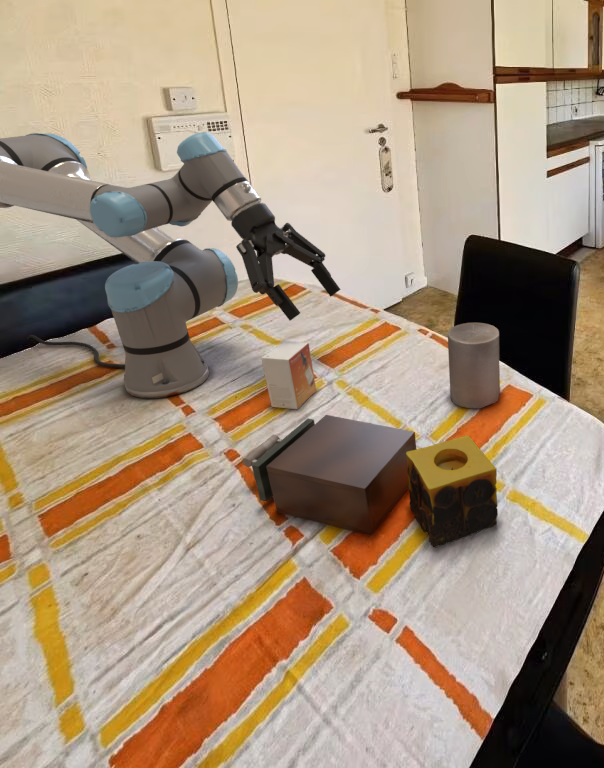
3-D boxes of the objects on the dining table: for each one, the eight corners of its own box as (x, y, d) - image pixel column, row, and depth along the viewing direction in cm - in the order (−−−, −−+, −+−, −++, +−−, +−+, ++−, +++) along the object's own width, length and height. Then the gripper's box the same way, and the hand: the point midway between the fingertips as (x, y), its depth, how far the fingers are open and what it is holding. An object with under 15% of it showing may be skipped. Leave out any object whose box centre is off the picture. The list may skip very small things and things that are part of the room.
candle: (432, 550, 84) (427, 491, 80) (407, 507, 92) (402, 451, 88) (499, 526, 89) (499, 469, 84) (470, 487, 96) (468, 433, 92)
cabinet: (276, 512, 91) (266, 466, 87) (333, 457, 104) (326, 414, 100) (371, 536, 87) (364, 488, 83) (418, 475, 99) (415, 431, 95)
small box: (297, 410, 117) (288, 360, 112) (270, 407, 118) (259, 357, 113) (317, 390, 124) (309, 342, 119) (291, 387, 125) (282, 339, 120)
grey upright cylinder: (456, 383, 126) (452, 314, 119) (503, 386, 125) (503, 317, 118) (445, 407, 118) (441, 334, 111) (496, 411, 117) (495, 337, 110)
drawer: (232, 493, 94) (222, 458, 91) (288, 445, 105) (281, 413, 102) (345, 521, 88) (339, 485, 85) (391, 467, 99) (388, 433, 96)
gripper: (209, 216, 106) (288, 319, 111) (298, 188, 127) (361, 275, 132) (187, 239, 110) (264, 337, 115) (277, 208, 131) (339, 292, 135)
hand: (316, 304), depth 123 cm, fingers open, 13 cm apart
